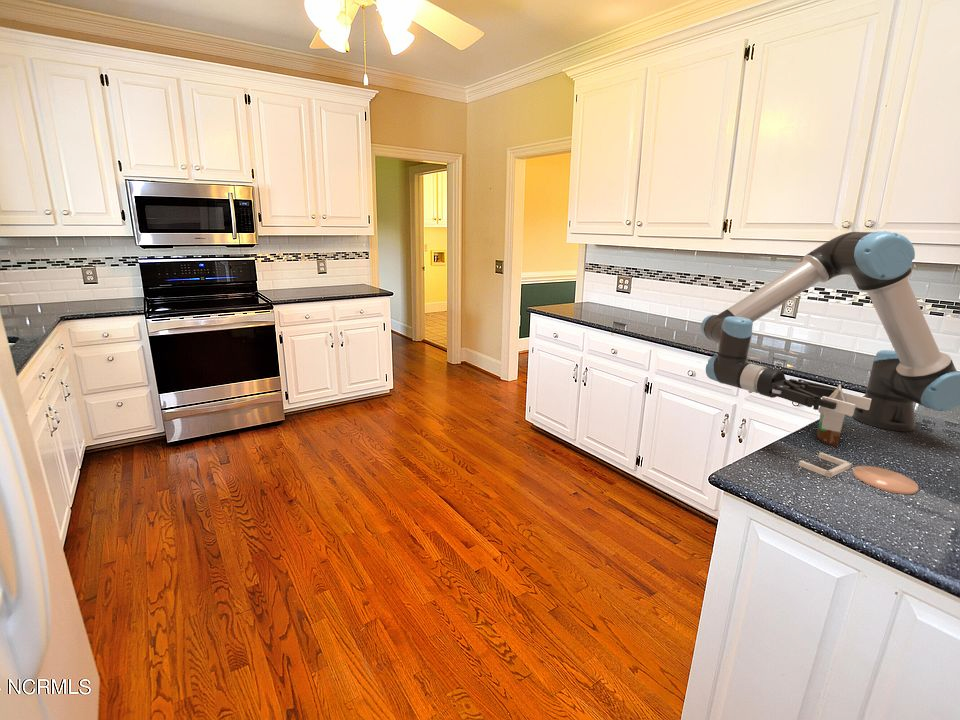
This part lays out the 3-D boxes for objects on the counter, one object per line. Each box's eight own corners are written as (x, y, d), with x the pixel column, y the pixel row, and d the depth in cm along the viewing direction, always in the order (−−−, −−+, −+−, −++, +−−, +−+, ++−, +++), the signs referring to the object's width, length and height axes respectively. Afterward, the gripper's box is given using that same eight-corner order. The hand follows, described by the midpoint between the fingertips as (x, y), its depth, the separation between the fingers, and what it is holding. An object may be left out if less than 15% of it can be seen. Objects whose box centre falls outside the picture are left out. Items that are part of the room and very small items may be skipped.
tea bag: (840, 423, 119) (849, 385, 117) (840, 432, 114) (850, 392, 111) (822, 420, 121) (831, 382, 119) (821, 428, 116) (830, 389, 113)
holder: (820, 456, 125) (821, 452, 125) (850, 467, 120) (852, 463, 119) (798, 465, 120) (799, 461, 119) (829, 477, 114) (830, 473, 114)
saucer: (865, 464, 122) (866, 461, 121) (926, 486, 112) (926, 483, 112) (843, 475, 115) (843, 472, 115) (905, 499, 106) (906, 496, 105)
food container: (814, 429, 143) (821, 398, 141) (839, 435, 140) (847, 403, 137) (809, 442, 134) (817, 408, 132) (836, 448, 130) (845, 414, 128)
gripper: (780, 388, 137) (876, 415, 118) (739, 399, 126) (837, 430, 107) (786, 363, 135) (884, 386, 116) (743, 372, 124) (844, 398, 105)
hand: (861, 407), depth 112 cm, fingers closed on tea bag, 8 cm apart
